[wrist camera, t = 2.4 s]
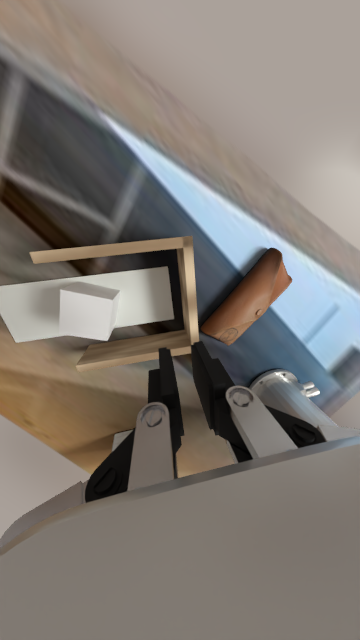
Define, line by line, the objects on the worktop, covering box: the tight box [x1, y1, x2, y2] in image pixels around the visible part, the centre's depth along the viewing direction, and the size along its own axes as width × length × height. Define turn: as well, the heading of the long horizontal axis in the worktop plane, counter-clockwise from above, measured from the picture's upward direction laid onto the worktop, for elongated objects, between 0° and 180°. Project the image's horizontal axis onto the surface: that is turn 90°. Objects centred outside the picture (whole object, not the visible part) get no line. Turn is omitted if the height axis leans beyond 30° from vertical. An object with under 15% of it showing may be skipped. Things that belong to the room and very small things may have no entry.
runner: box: [0, 266, 174, 343], centre depth 27 cm, size 26×9×1 cm, turn 95°
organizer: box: [29, 236, 199, 372], centre depth 26 cm, size 16×18×6 cm
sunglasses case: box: [200, 248, 292, 345], centre depth 31 cm, size 18×7×7 cm
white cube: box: [59, 281, 121, 341], centre depth 25 cm, size 6×6×6 cm
